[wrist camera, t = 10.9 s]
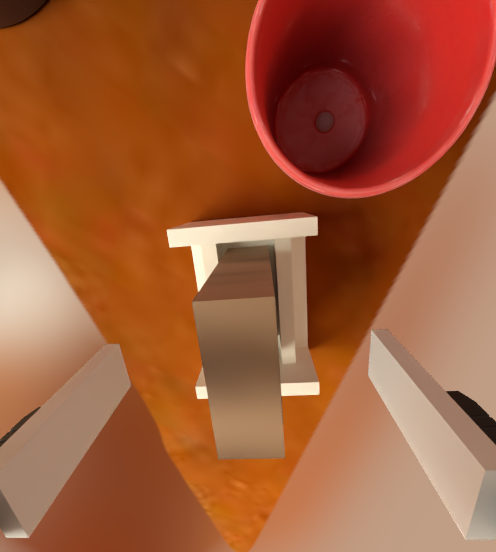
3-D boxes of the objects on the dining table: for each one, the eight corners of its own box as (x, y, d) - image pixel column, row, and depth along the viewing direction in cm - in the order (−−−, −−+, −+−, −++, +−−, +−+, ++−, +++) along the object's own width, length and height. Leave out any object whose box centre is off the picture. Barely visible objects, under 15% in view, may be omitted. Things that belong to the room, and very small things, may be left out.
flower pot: (420, 96, 19) (573, -3, 10) (331, 221, 22) (382, 238, 13) (304, 7, 18) (352, -203, 8) (227, 153, 21) (200, 116, 11)
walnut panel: (274, 336, 24) (286, 458, 13) (237, 338, 25) (217, 459, 13) (268, 245, 22) (276, 296, 10) (227, 248, 22) (190, 301, 11)
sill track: (190, 222, 23) (166, 229, 17) (302, 211, 22) (317, 216, 16) (211, 355, 27) (197, 398, 21) (306, 351, 26) (319, 394, 20)
